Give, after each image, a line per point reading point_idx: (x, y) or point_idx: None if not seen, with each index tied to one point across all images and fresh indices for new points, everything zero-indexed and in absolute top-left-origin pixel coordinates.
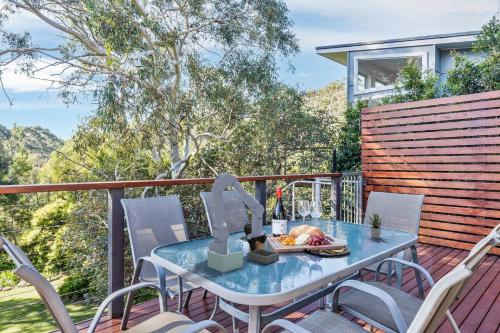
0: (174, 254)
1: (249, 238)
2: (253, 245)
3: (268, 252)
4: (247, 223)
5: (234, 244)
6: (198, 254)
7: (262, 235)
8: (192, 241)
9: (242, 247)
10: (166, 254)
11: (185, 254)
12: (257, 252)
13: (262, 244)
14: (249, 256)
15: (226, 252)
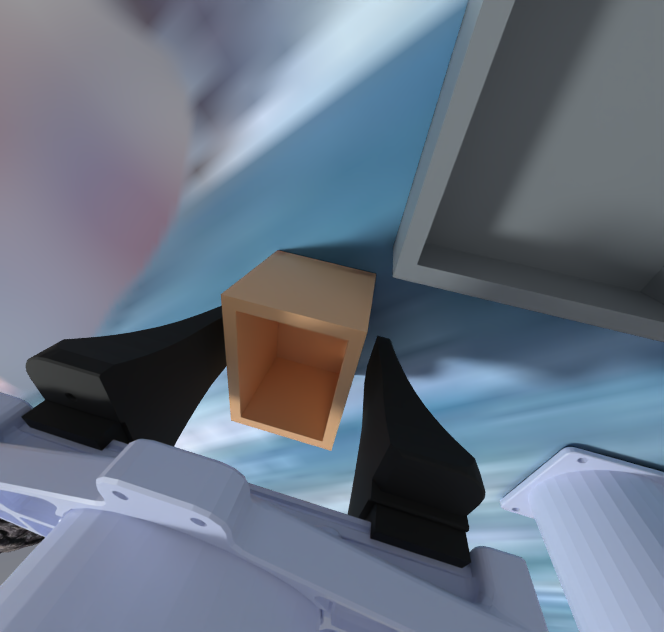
0: (556, 616)
1: (532, 586)
2: (415, 394)
3: (492, 44)
4: (12, 550)
5: (247, 477)
6: (528, 565)
7: (196, 457)
8: None
9: (266, 438)
10: (564, 629)
11: (545, 595)
12: (488, 270)
13: (279, 309)
14: None
15: (656, 523)
